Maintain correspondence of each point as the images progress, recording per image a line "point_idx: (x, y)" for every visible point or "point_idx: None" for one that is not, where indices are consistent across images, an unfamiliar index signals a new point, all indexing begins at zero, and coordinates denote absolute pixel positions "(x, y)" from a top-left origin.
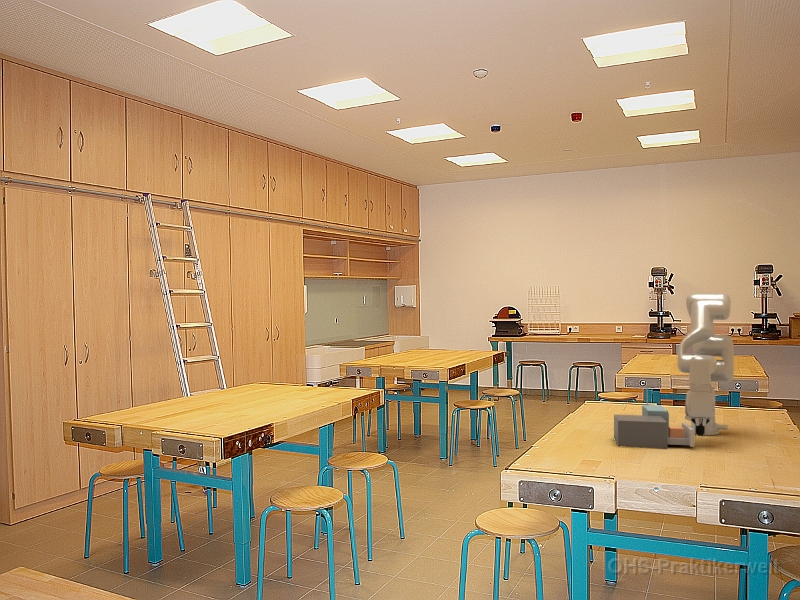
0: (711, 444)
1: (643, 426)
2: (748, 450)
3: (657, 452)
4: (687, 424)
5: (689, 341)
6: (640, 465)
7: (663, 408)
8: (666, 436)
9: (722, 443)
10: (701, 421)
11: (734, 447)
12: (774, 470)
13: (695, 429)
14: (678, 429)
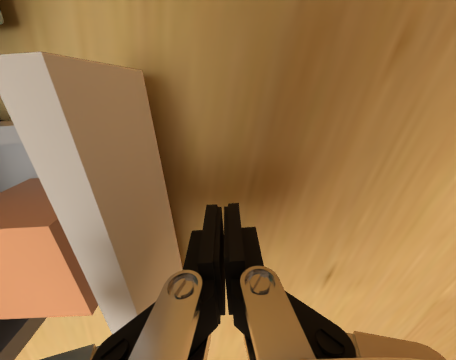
0: (305, 117)
1: None
2: (437, 225)
3: (58, 335)
4: (92, 196)
5: None
6: None
7: None
8: (28, 335)
9: (397, 54)
10: (247, 319)
11: (406, 172)
12: None
13: (188, 245)
14: (54, 311)
